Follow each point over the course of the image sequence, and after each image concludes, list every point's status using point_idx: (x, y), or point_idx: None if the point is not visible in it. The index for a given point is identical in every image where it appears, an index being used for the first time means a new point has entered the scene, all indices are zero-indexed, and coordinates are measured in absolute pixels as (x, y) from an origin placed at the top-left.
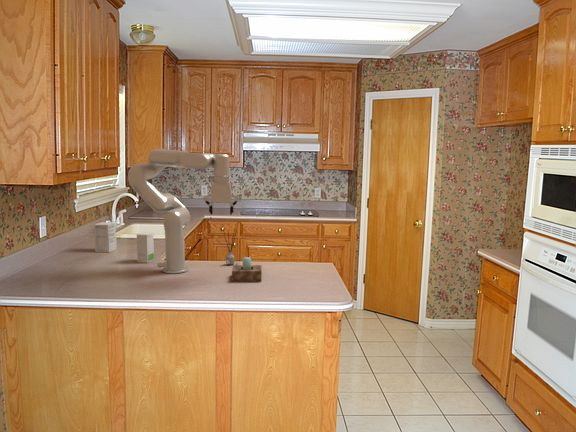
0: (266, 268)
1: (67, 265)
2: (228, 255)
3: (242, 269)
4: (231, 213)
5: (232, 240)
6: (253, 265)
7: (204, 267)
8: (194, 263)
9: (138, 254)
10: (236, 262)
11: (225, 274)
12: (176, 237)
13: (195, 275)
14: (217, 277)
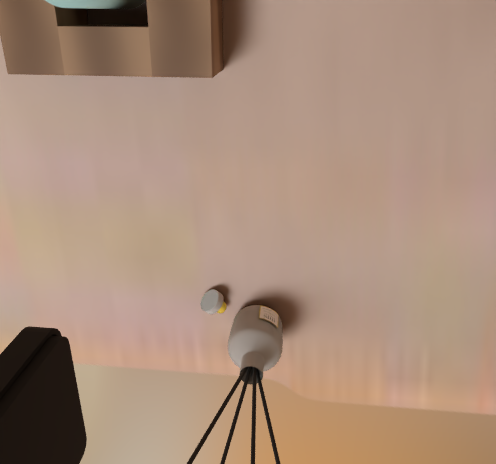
0: (43, 228)
1: None
2: (263, 347)
3: (144, 26)
4: (15, 341)
5: (227, 446)
6: (63, 67)
7: (411, 270)
8: (467, 360)
9: None
10: (217, 303)
11: (275, 90)
12: None
13: (482, 67)
14: (328, 5)
